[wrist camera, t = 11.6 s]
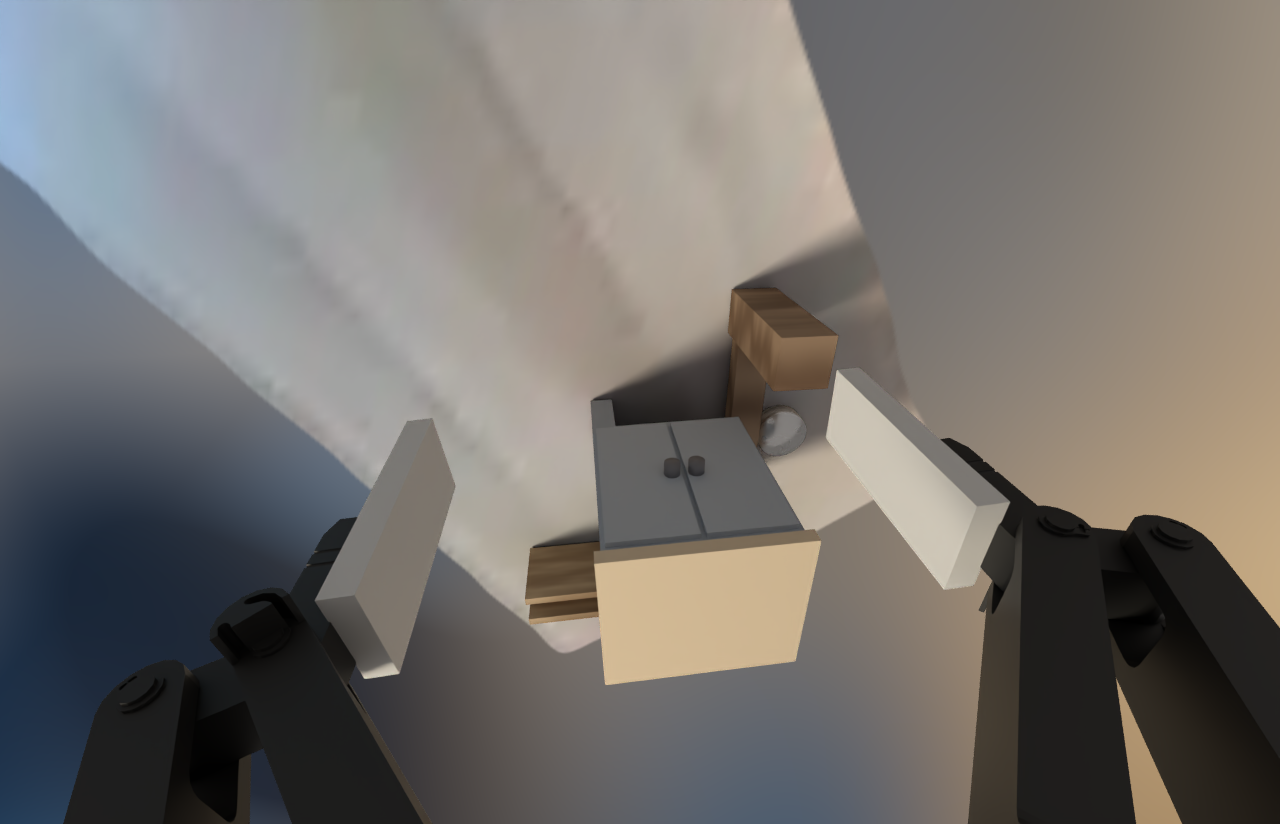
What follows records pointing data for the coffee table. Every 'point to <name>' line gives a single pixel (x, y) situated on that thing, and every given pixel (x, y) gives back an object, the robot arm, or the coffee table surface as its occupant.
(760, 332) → the wooden block
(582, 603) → the stand
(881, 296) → the coffee table surface
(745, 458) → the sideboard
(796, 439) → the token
